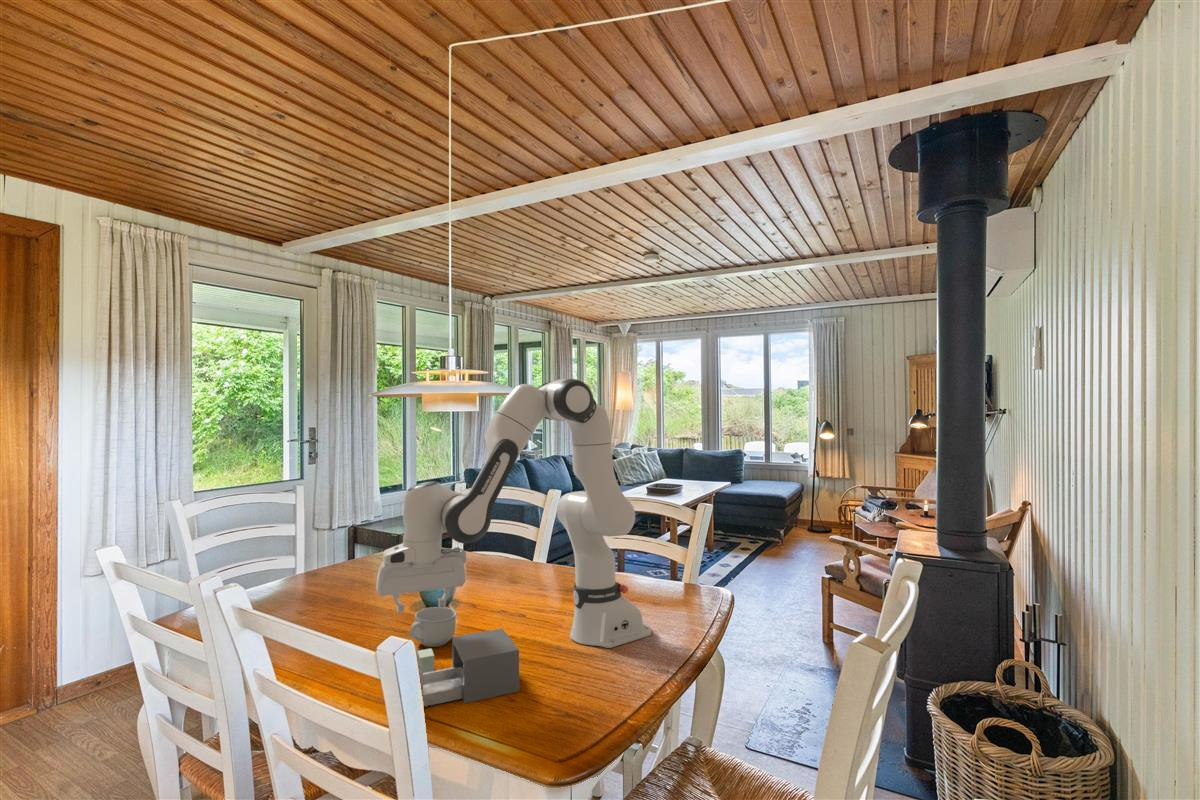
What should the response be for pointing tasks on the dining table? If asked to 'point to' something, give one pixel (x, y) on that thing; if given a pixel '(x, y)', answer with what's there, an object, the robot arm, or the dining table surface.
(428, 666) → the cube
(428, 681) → the tray
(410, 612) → the dining table surface
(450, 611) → the teacup
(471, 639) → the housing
